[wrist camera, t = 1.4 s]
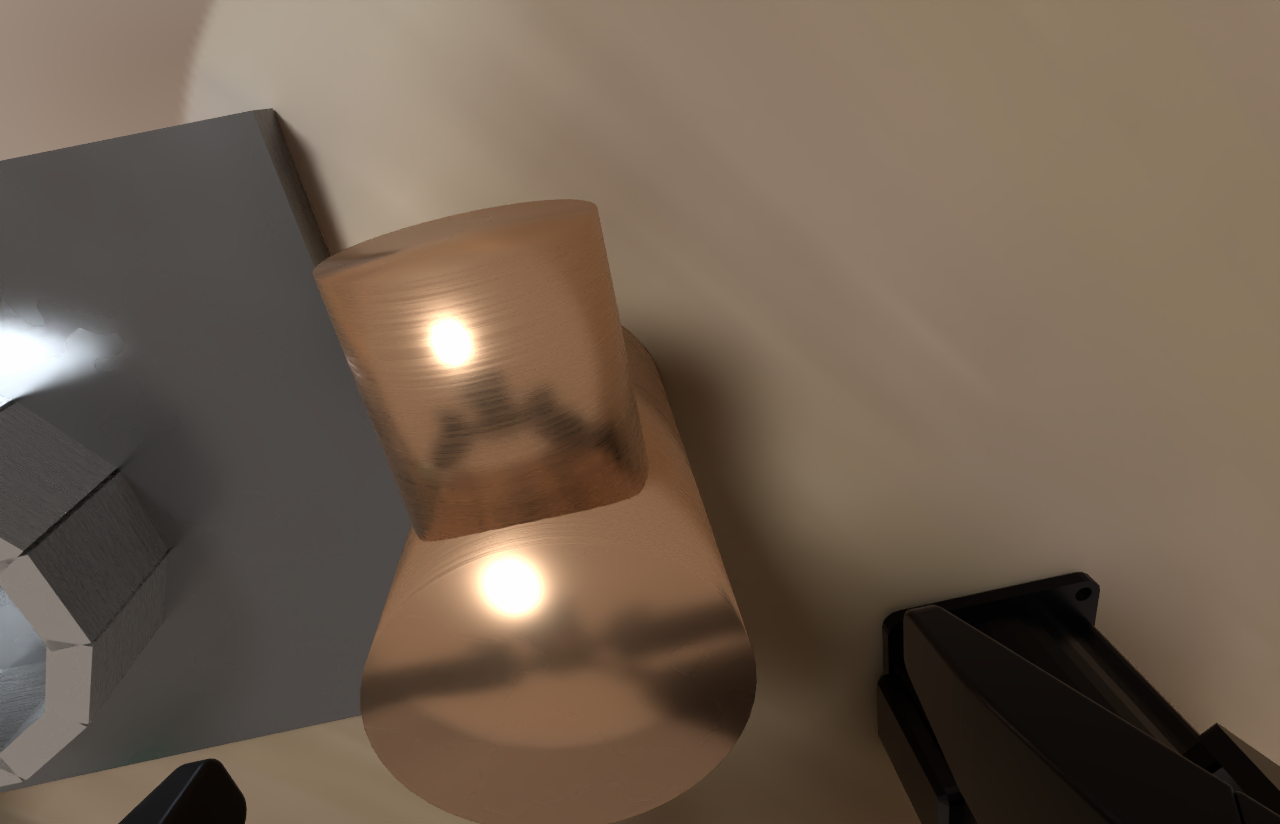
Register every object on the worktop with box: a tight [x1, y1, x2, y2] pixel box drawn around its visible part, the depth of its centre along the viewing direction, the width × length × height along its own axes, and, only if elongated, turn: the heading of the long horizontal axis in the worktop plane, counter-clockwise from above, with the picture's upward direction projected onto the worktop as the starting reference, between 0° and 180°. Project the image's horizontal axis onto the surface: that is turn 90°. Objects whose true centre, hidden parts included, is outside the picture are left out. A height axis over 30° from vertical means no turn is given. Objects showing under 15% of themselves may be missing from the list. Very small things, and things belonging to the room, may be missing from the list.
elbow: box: [313, 199, 757, 824], centre depth 12 cm, size 5×8×9 cm, turn 10°
